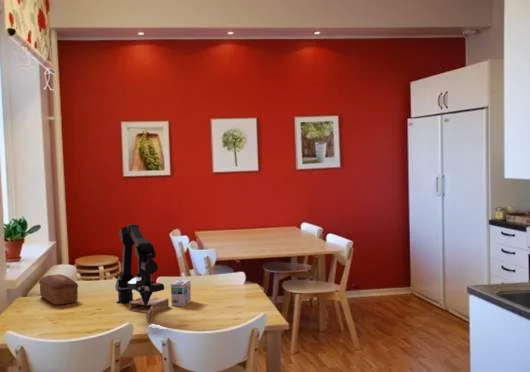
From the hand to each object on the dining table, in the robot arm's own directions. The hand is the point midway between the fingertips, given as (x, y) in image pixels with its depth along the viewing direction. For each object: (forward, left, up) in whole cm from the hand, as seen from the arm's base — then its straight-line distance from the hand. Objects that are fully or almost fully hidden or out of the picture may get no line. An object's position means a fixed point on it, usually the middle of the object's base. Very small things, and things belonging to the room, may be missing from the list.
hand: (145, 304), depth 271 cm
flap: (+1, +2, -6) cm, 6 cm away
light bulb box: (0, +29, -6) cm, 29 cm away
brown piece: (-9, +15, -6) cm, 18 cm away
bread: (-64, +12, -7) cm, 66 cm away
